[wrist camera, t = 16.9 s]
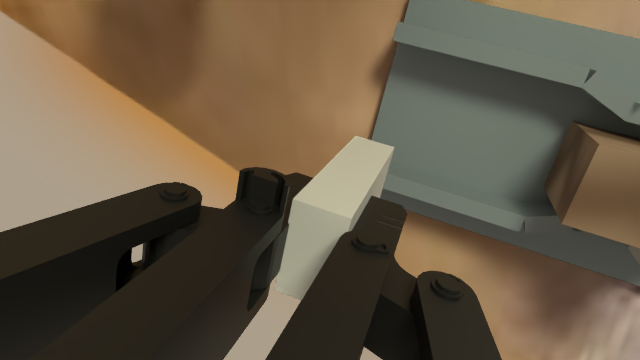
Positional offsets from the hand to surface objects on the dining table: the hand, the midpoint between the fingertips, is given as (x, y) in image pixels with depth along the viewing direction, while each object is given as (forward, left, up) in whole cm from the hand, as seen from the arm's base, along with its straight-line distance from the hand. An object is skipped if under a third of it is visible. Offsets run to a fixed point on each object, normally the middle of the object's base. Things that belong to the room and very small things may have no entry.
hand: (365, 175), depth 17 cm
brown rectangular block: (+1, +15, -19) cm, 24 cm away
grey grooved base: (+1, +9, -20) cm, 22 cm away
